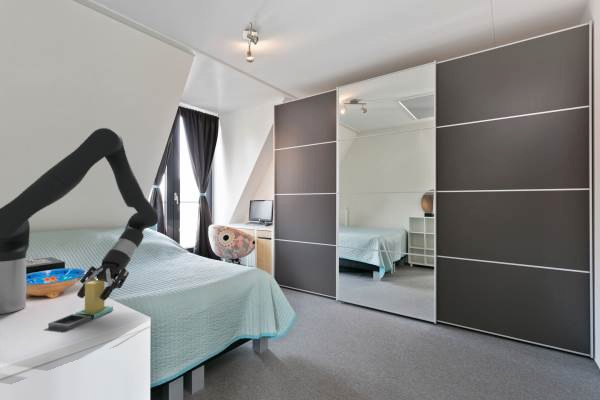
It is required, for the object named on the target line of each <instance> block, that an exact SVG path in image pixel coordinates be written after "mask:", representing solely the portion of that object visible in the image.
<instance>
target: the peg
mask: <svg viewBox="0 0 600 400" xmlns="http://www.w3.org/2000/svg"><path fill="white" fill-rule="evenodd" d="M104 289H105V282H104V281H99V280H94V281H91V282H87V283H85V296H84V309H85V313H93V314H95V313H97V312H99V311H102V310H104V306H105V300H102V299H101V298H100V295H101V294H102V292H103V291H104Z"/></svg>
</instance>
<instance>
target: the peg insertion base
mask: <svg viewBox="0 0 600 400" xmlns="http://www.w3.org/2000/svg"><path fill="white" fill-rule="evenodd" d="M113 311H114V306H110V305H108V306H107V305H104V310H102V311H99V312H97V313H95V314H93V313H85V308H84V309H82V310H79V311H75V313H72V314H69V315H66V316H63V317H61V318H59V319H55V320H53V321H51V322H48V323H47V324H48V325H47V327H46V328H44V329H43V331H47V332H54V333H61V334H63V333H66V332H68V331H70V330H73V329H74V328H77V327H79V326H82V325H83V324H86V323H89V322H91V321H92V320H95V319H97V318H100V317H102V316H104V315H106V314H109V313H110V312H113Z"/></svg>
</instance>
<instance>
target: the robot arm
mask: <svg viewBox="0 0 600 400" xmlns="http://www.w3.org/2000/svg"><path fill="white" fill-rule="evenodd" d="M104 158H105V159H106V161H107V162H108V165H109V166H110V168H111V170H112V173H113V175H114V179H115V182H116V185H117V189H118V192H119V193H120V196H121V197H122V199H123V201H124V203H125V205H126V207H128V208H133V209H134V210H135V211H136V212H135V213H134V214H132V215H131V216H130V217H129V219H128V221H127V223H126V226H125V229H124V231H123V232H122V233H121V235H120V236H119V238H118V239H117V240H116V241H115V243H114V244H113V245H112V246H111V247H110V248H109V250H108V252H107V253H106V254H105V255H104V257H103V258H102V260H101V265H100V266H99V267H95V266H93V265H92V266H90V268H89V269H88V270H87V271H86V273H84V275H83V276H82V278H81V279H80V281H79V282H80V283H81V284H82V286H81V287H80V289H79V290H78V292H77V294H76V295H77V297H78V298H80V299H85V283H87V282H91V281H94V280H99V281H104V283H107V286H105V287H104V291H103V292H102V294H101V295H100V298H101V299H102V300H104V301H106V300H107V299H108V298H109V297H110V296H111V294H112V293H113V291H114V290H115V289H121V288H122V287H123V285H124V284H125V281H126V279H127V278H128V276H129V274H130V272H129V271H128V270H127V269H126V268H127V266H128V264H129V263H130V262H131V260H132V259H133V257H134V255H135V254H136V252H137V249H138V248H139V246H140V245H141V243H142V241H143V239H144V233H143V232H144V231H145V229H146V230H147V229H149V228H151V227H152V228H153V227H155V226H156V225H157V224H158V222H159V215H158V213H157V210H156V209H155V207H153V205H152V204H151V203H150V201H149V200H148V199H147V198H146V197H145V194H144V192H143V189H142V188H141V186H140V184H139V182H138V181H139V180H137V178H136V176H135V174H134V172H133V170H132V168H131V165H130V162H129V160H128V157H127V153H126V150H125V146H124V141H123V138H122V136H120V134H119V133H117V132H116V131H114V130H113V129H111V128H107V127H100V128H98V129H95V130H94V131H93V132H92V133H91V134H90V135H89V136H88V137H86V139H85V140H84V141H83V142H82V143H81V144H80V145H79V146H78V147H77V148H76V149H74V151H72V152H71V153H69V154H68V155H67V156H65V157H64V158H62V159H61V160H60V161H59V162H58V163H56V164H55V165H53V166H52V167H50V169H48V170H47V171H45V172H44V173H43V174H42V175H41V176H40V177H39V178H37V180H35V181H33V183H32V184H30V185H29V186H28V187H27V188H25V189H24V190H23V191H22V192H21V193H20V194H19V195H17V196H16V197H14V199H12V200H11V201H10V202H8V203H6V204H4V206H2V207H0V315H3V314H5V315H6V314H8V313H13V312H17V311H21V310H22V309H25V308H26V306H27V251H28V250H29V246H30V232H31V231H30V230H31V229H30V228H31V227H30V225H31V224H30V221H29V219H31V218H32V217H33V216H34V215H35V214H36V213H39V212H40V211H41V210H43V209H45V208H46V207H49V206H51V205H53V204H54V203H56V202H58V201H59V200H61V199H62V198H64V197H65V196H66V195H68V194H69V193H70V192H71V191H73V190H74V189H75V188H76V187H77V186H78V185H79V184H80V183H81V182H82V180H83V179H85V176H86V175H87V173H88V172H89V171H90V169H92V167H93V166H94V165H96V164H97V163H98V162H100V161H101V160H103V159H104Z"/></svg>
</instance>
